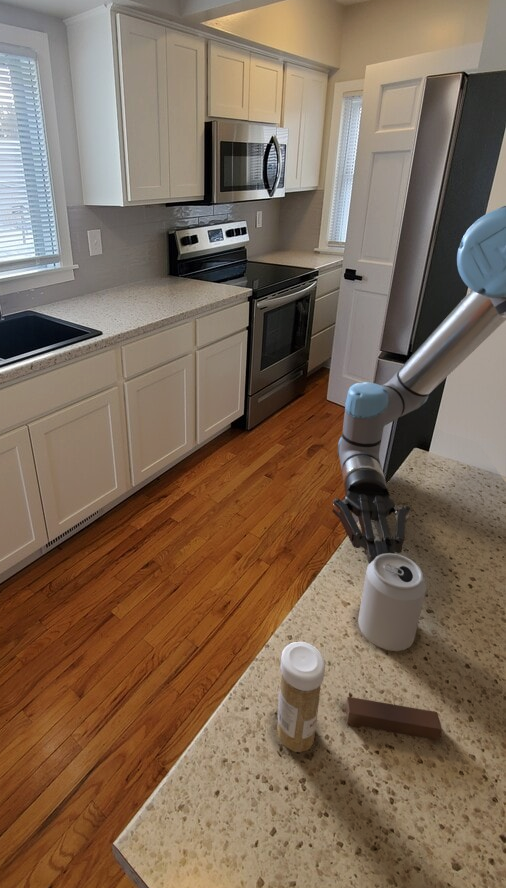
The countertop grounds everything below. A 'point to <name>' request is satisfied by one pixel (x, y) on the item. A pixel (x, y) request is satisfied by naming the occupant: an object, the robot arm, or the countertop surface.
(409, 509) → the robot arm
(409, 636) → the can
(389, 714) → the bar
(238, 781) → the countertop surface
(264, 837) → the countertop surface
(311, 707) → the sprinkles bottle
